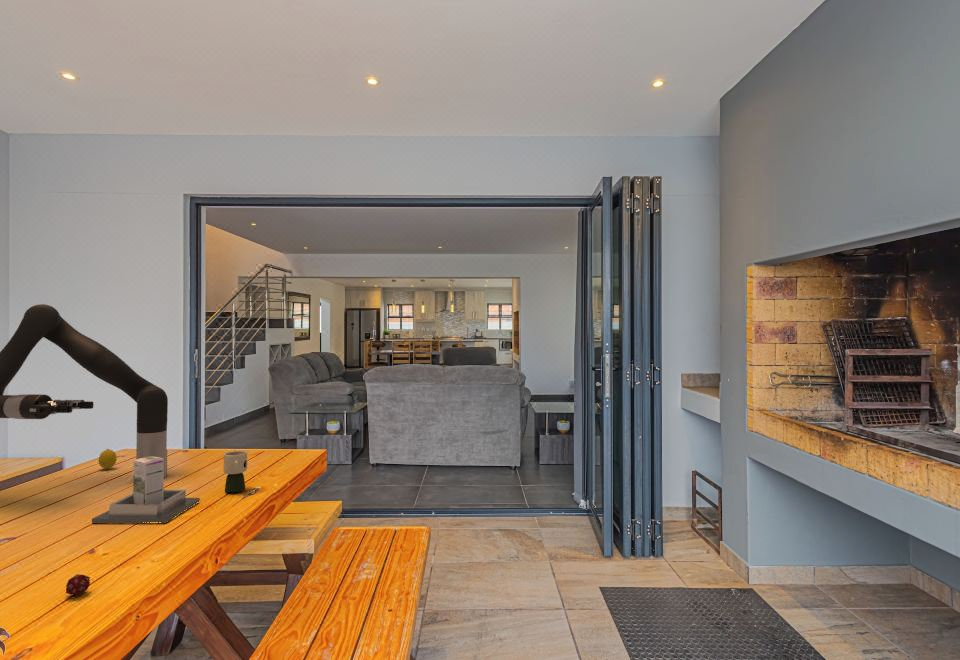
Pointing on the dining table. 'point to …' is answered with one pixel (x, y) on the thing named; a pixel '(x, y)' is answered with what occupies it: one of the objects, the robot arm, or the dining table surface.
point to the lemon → (107, 459)
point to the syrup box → (148, 480)
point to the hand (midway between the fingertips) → (82, 407)
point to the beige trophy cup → (235, 470)
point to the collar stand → (147, 509)
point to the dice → (77, 584)
